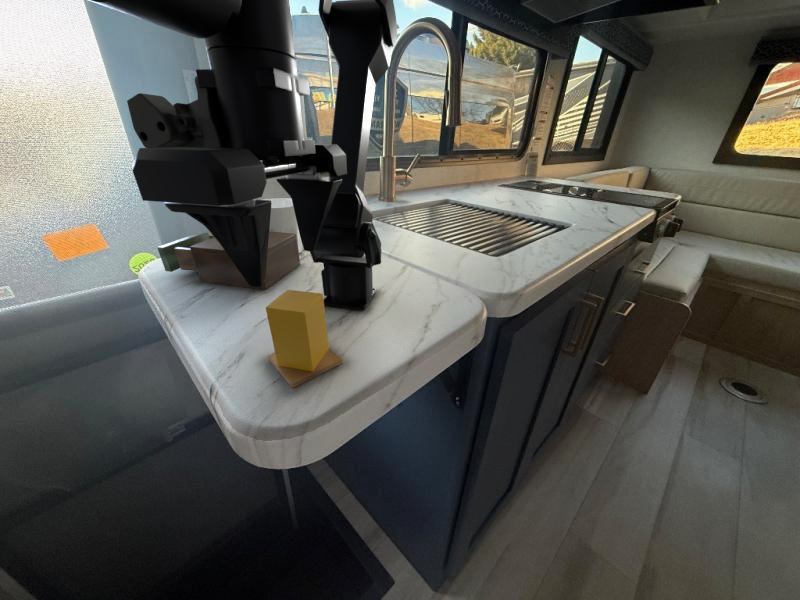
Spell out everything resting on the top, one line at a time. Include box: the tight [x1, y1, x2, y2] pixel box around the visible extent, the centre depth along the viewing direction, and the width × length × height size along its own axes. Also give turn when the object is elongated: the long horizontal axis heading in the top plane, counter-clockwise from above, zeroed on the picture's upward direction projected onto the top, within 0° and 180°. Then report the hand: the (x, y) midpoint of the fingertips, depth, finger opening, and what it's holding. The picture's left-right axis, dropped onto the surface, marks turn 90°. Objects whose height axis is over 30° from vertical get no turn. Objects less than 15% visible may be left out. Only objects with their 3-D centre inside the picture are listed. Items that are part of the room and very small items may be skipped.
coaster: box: [267, 347, 343, 389], centre depth 34 cm, size 6×6×1 cm
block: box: [265, 289, 330, 371], centre depth 32 cm, size 4×4×7 cm
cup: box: [262, 197, 305, 254], centre depth 64 cm, size 10×10×10 cm
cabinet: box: [190, 231, 301, 291], centre depth 54 cm, size 12×11×6 cm
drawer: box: [156, 230, 214, 273], centre depth 55 cm, size 12×10×4 cm
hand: (286, 266), depth 29 cm, fingers open, 9 cm apart
